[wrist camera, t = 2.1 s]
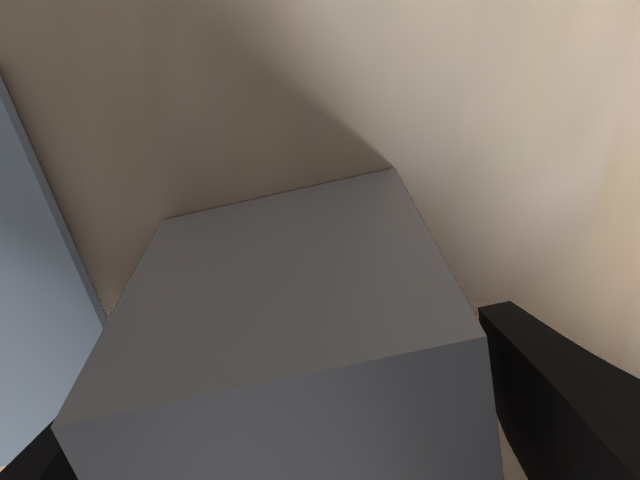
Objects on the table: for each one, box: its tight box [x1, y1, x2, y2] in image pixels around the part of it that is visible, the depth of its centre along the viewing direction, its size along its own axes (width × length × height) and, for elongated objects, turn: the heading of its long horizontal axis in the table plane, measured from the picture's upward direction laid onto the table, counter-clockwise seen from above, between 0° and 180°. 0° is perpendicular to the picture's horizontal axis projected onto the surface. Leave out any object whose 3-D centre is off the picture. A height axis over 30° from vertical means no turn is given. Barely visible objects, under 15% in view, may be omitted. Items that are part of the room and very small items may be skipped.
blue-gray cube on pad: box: [51, 168, 504, 480], centre depth 12 cm, size 6×6×7 cm
